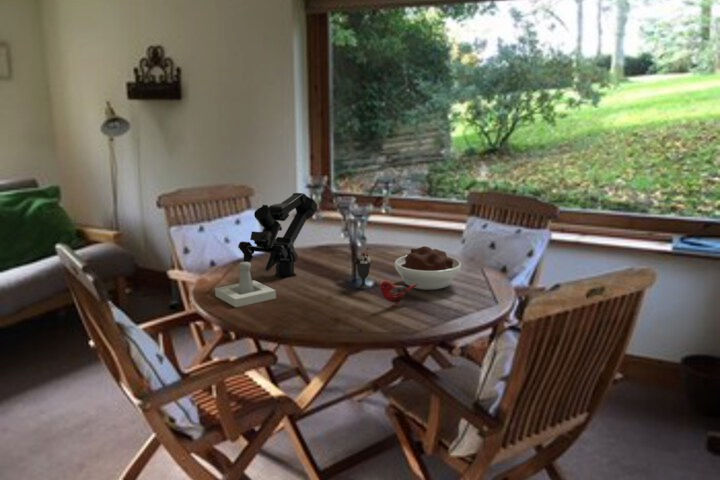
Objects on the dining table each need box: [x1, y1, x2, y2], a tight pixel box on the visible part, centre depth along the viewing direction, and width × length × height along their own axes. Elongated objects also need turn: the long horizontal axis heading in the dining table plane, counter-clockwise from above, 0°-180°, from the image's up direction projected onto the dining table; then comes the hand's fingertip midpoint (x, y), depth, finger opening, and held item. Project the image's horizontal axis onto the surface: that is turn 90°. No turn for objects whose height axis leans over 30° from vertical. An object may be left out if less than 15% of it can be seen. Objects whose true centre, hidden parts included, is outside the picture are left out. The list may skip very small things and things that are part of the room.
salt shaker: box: [238, 261, 254, 295], centre depth 234 cm, size 6×6×13 cm
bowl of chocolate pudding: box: [394, 245, 462, 291], centre depth 246 cm, size 25×25×15 cm
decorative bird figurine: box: [379, 280, 418, 308], centre depth 225 cm, size 3×18×10 cm, turn 127°
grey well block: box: [214, 279, 277, 308], centre depth 235 cm, size 16×16×3 cm
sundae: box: [354, 248, 373, 290], centre depth 244 cm, size 7×7×15 cm
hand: (255, 269), depth 240 cm, fingers open, 9 cm apart
